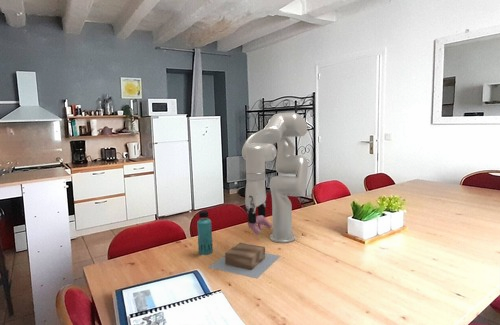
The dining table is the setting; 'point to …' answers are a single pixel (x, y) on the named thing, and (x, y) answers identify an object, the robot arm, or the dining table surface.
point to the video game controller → (259, 224)
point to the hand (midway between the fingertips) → (257, 219)
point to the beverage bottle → (204, 234)
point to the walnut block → (245, 256)
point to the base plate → (250, 273)
